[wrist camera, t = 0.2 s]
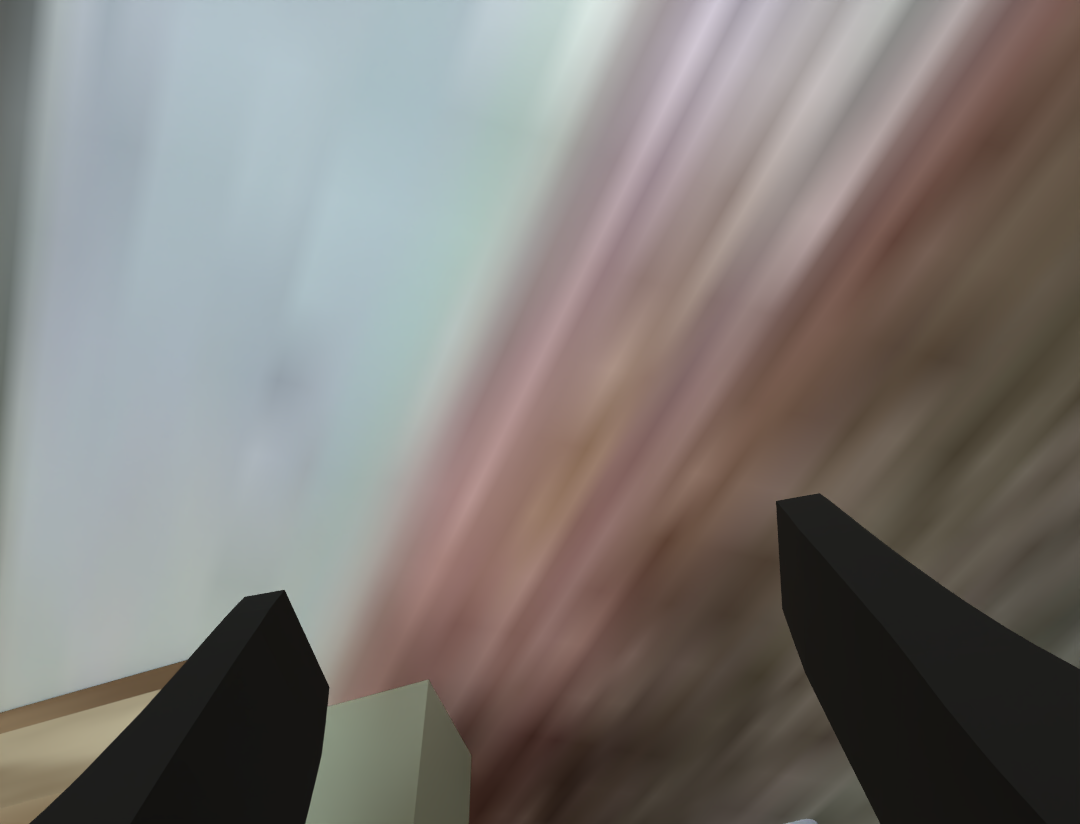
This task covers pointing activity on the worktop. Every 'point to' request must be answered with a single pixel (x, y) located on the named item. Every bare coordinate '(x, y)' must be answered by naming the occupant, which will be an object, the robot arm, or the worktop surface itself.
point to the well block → (65, 739)
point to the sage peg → (392, 762)
